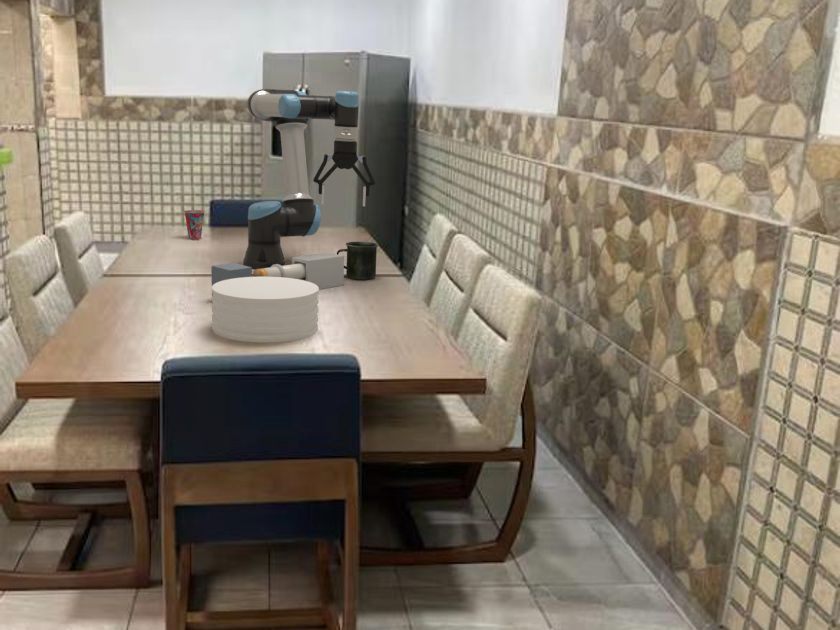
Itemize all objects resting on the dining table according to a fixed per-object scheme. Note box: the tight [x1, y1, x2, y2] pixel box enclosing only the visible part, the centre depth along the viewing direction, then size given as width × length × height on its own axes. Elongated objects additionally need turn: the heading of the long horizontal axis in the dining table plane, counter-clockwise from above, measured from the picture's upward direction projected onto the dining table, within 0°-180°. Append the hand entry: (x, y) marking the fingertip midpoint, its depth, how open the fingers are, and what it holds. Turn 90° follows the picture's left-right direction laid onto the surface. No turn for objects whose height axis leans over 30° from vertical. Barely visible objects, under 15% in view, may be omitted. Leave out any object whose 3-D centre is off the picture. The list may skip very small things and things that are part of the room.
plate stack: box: [211, 276, 320, 343], centre depth 225 cm, size 28×28×12 cm
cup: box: [183, 209, 206, 241], centre depth 359 cm, size 9×8×12 cm
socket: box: [211, 262, 253, 296], centre depth 253 cm, size 8×9×10 cm
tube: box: [252, 263, 306, 279], centre depth 272 cm, size 32×7×7 cm, turn 139°
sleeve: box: [291, 252, 345, 290], centre depth 279 cm, size 16×8×10 cm, turn 139°
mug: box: [336, 241, 379, 281], centre depth 296 cm, size 11×15×12 cm
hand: (343, 205), depth 279 cm, fingers open, 13 cm apart
